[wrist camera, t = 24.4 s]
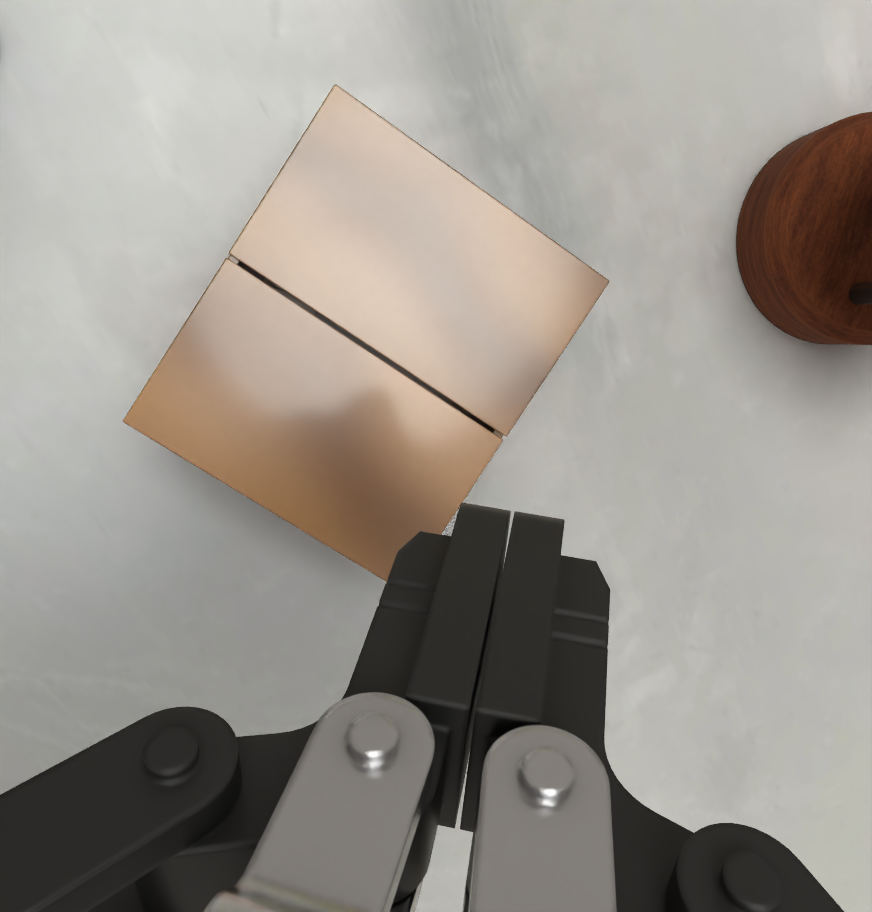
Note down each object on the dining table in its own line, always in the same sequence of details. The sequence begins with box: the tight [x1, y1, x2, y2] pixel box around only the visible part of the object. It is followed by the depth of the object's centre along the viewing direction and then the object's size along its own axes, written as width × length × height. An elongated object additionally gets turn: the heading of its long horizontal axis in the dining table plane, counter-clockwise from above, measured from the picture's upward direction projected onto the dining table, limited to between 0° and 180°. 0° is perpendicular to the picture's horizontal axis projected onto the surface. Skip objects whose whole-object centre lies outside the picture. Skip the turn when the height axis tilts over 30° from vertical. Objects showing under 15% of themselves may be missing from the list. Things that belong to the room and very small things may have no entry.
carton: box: [228, 84, 609, 438], centre depth 34 cm, size 14×12×10 cm
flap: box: [123, 258, 503, 582], centre depth 30 cm, size 7×12×1 cm, turn 56°
